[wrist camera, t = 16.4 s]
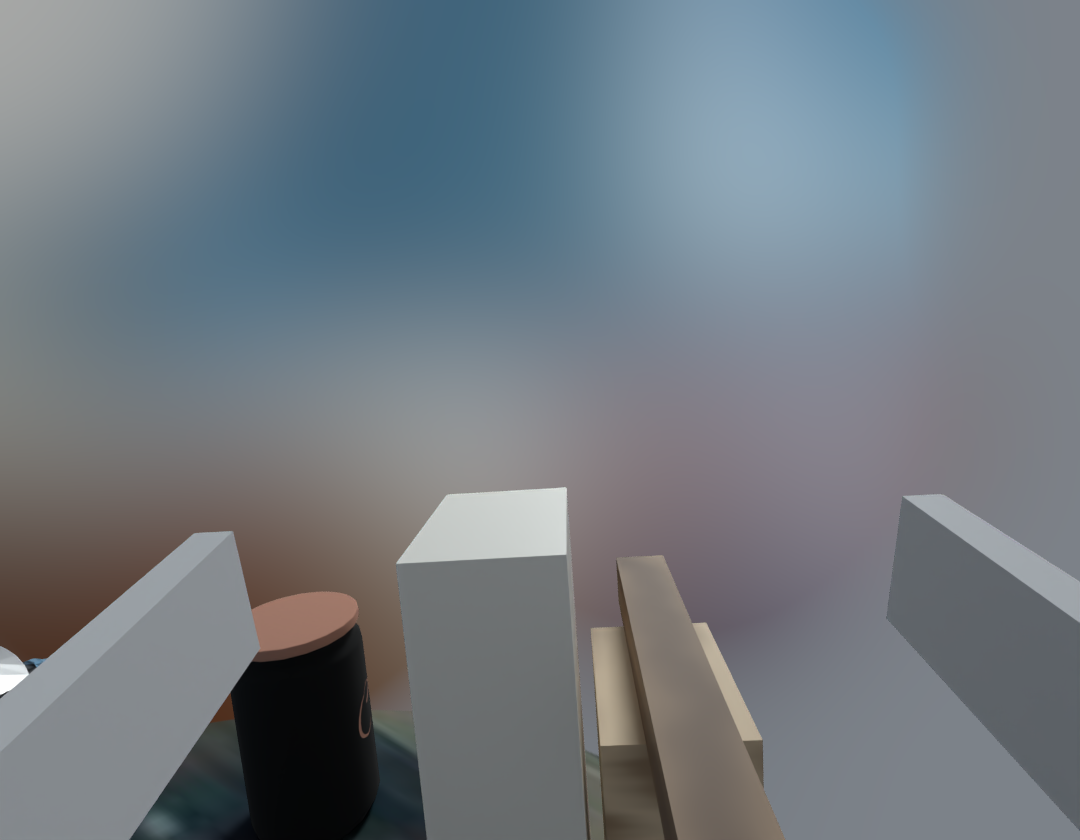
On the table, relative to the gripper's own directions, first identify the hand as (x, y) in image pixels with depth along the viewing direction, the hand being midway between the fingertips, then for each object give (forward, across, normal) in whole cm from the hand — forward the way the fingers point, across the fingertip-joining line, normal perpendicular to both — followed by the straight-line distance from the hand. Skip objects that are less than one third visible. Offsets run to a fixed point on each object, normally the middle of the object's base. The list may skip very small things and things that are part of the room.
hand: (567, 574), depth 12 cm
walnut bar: (+16, +6, -18) cm, 25 cm away
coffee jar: (+30, -23, -41) cm, 55 cm away
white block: (+15, -3, -38) cm, 41 cm away
